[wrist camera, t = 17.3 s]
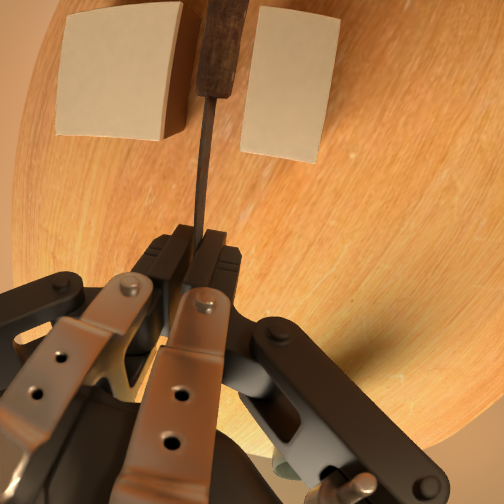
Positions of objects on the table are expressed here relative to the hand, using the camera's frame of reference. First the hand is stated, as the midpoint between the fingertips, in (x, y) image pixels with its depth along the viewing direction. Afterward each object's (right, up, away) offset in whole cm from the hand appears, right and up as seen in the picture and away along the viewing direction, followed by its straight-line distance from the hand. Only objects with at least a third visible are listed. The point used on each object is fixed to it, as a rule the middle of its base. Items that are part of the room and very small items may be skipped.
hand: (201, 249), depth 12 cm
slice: (+4, +10, +5) cm, 12 cm away
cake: (-6, +12, +5) cm, 14 cm away
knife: (+1, +5, -3) cm, 6 cm away
